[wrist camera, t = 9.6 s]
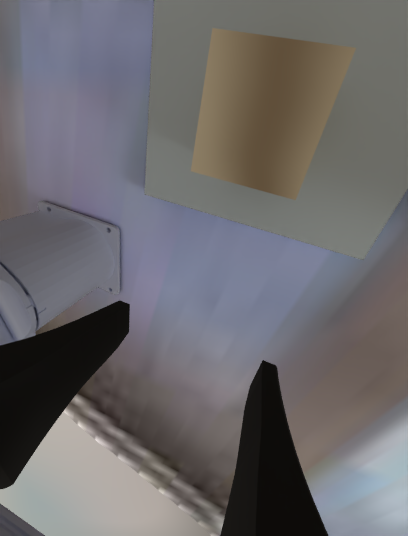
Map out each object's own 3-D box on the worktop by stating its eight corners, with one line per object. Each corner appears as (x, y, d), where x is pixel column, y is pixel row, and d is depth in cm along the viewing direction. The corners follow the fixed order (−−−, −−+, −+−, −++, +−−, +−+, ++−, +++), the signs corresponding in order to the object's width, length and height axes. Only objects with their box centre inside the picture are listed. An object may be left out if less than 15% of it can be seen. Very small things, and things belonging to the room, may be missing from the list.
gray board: (152, 191, 19) (144, 194, 18) (167, -26, 13) (156, -40, 12) (359, 252, 16) (363, 260, 15) (510, 1, 10) (534, -16, 9)
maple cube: (220, 163, 15) (190, 171, 11) (241, 66, 13) (212, 27, 9) (296, 183, 14) (295, 200, 10) (336, 82, 12) (356, 47, 8)
